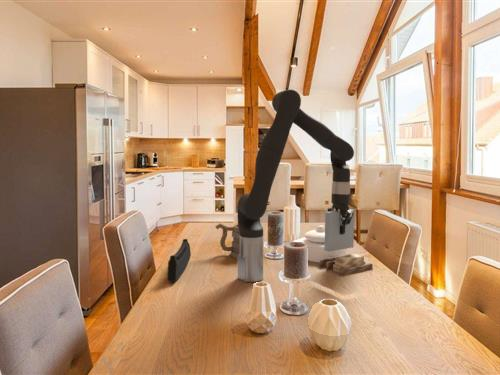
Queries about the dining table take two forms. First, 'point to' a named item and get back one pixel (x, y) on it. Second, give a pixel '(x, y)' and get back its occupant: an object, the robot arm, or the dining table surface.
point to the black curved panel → (179, 262)
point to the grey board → (338, 232)
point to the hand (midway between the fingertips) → (339, 233)
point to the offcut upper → (349, 260)
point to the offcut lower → (338, 268)
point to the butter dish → (318, 245)
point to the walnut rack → (328, 266)
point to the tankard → (236, 239)
